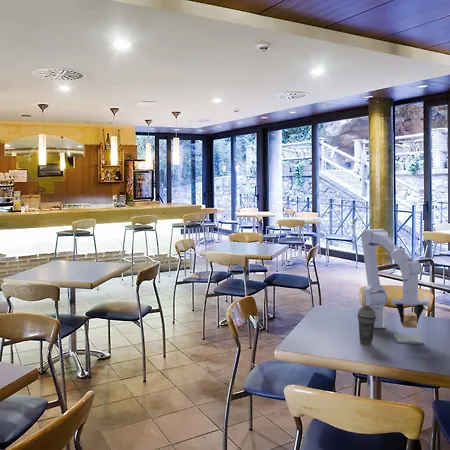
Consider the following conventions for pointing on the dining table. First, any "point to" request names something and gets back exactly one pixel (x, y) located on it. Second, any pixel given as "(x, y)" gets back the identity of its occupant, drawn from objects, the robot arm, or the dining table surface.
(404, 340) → the coaster mat
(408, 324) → the oak cube
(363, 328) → the beverage cup
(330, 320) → the dining table surface
